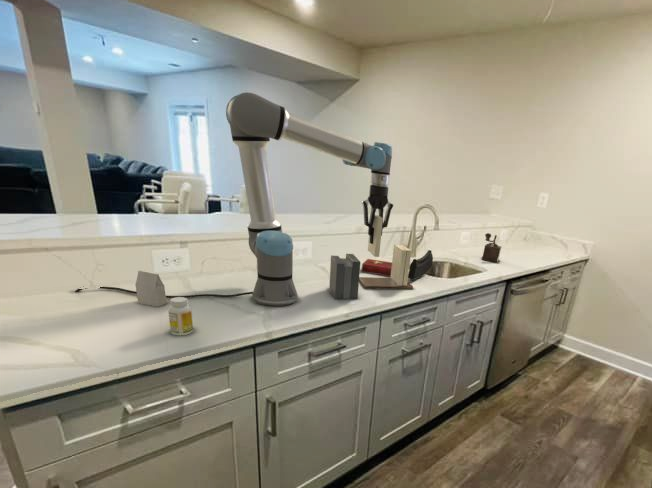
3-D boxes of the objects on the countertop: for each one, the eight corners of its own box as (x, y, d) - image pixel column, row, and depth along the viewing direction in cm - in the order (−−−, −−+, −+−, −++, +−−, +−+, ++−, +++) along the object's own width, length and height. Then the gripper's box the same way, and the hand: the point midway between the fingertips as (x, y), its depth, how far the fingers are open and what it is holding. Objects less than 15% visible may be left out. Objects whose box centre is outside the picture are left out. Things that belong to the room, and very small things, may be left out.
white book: (374, 256, 160) (378, 217, 154) (367, 250, 169) (370, 213, 163) (379, 256, 161) (382, 218, 154) (372, 250, 170) (375, 213, 164)
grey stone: (157, 306, 119) (152, 275, 115) (138, 302, 120) (133, 271, 116) (166, 303, 123) (162, 273, 119) (147, 299, 123) (143, 269, 120)
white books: (397, 285, 170) (402, 250, 163) (390, 278, 179) (394, 244, 173) (406, 285, 171) (411, 250, 165) (398, 278, 180) (402, 244, 174)
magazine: (414, 264, 176) (434, 238, 198) (407, 263, 177) (428, 237, 199) (413, 295, 187) (432, 267, 209) (407, 294, 188) (426, 266, 210)
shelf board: (365, 288, 163) (365, 286, 163) (358, 279, 174) (358, 277, 174) (412, 289, 172) (413, 286, 171) (403, 280, 183) (403, 278, 182)
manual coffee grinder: (482, 256, 262) (488, 230, 254) (498, 260, 259) (504, 233, 252) (479, 260, 248) (485, 233, 241) (496, 264, 245) (502, 236, 238)
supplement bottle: (169, 336, 103) (165, 303, 99) (172, 328, 108) (168, 296, 104) (192, 335, 105) (189, 302, 102) (194, 327, 110) (191, 295, 106)
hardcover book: (403, 278, 186) (404, 269, 185) (361, 271, 187) (362, 263, 185) (406, 272, 197) (407, 264, 196) (366, 266, 198) (367, 258, 197)
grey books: (334, 299, 147) (337, 260, 141) (329, 288, 157) (331, 252, 151) (357, 298, 150) (360, 261, 144) (350, 289, 160) (353, 253, 154)
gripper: (363, 183, 148) (359, 244, 157) (399, 188, 154) (393, 246, 163) (358, 182, 154) (354, 240, 163) (394, 186, 160) (388, 242, 169)
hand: (374, 243), depth 163 cm, fingers closed on white book, 2 cm apart
